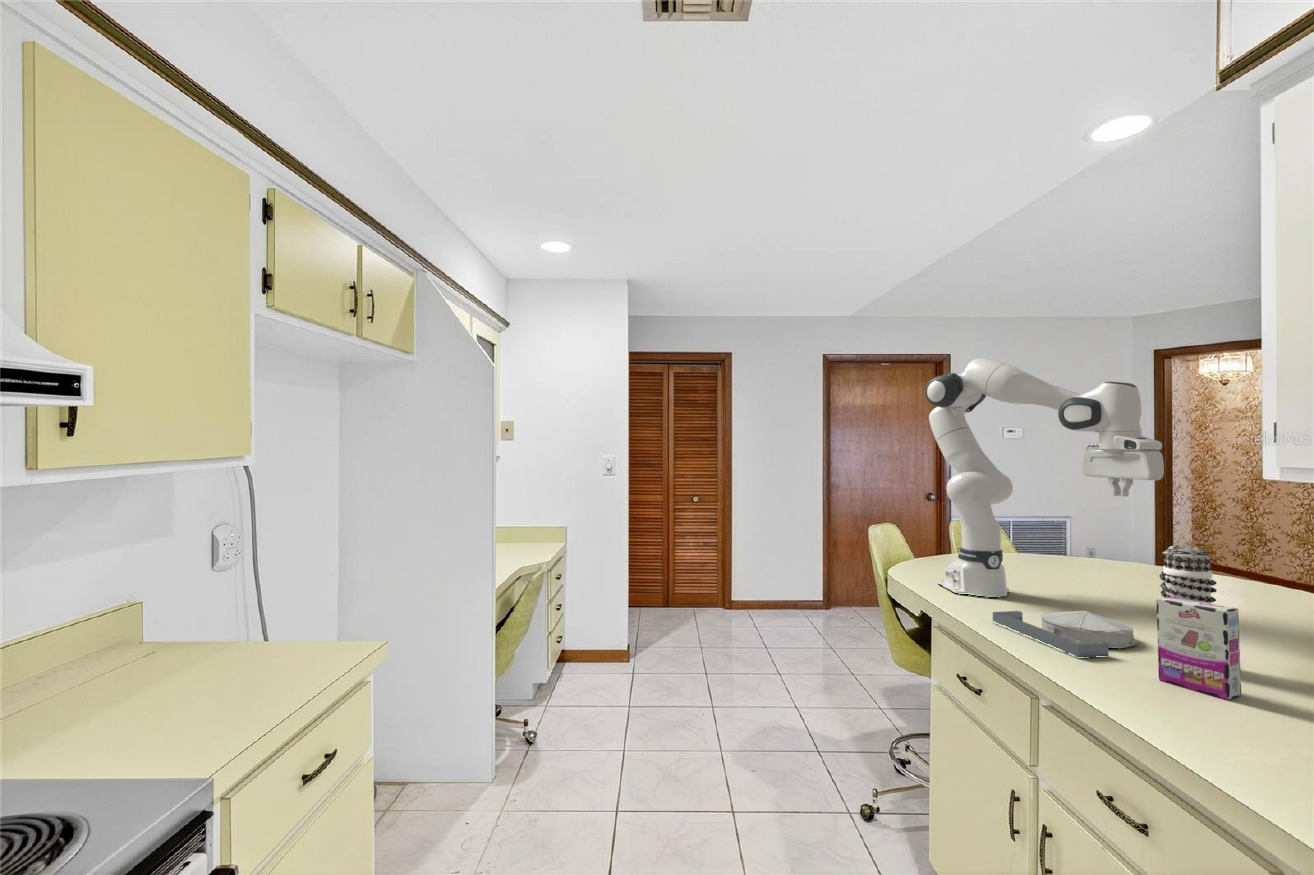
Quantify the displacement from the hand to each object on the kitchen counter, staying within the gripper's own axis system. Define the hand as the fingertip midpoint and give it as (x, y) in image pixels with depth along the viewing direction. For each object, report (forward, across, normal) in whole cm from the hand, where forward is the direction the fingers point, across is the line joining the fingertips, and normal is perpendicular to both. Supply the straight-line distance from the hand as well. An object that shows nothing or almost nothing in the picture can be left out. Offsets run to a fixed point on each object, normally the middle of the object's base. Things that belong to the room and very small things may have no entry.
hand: (1120, 495), depth 155 cm
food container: (+34, +6, -17) cm, 39 cm away
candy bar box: (+34, +37, -22) cm, 55 cm away
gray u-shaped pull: (+34, +6, -27) cm, 44 cm away
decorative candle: (+34, +26, -11) cm, 44 cm away
